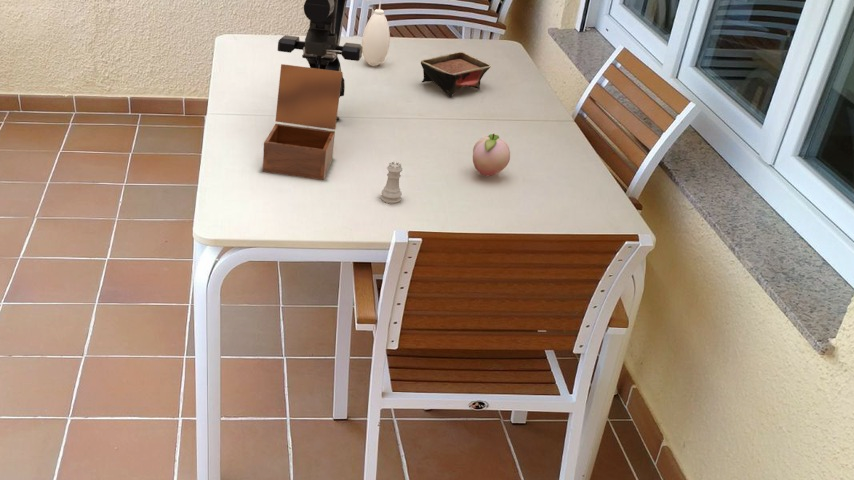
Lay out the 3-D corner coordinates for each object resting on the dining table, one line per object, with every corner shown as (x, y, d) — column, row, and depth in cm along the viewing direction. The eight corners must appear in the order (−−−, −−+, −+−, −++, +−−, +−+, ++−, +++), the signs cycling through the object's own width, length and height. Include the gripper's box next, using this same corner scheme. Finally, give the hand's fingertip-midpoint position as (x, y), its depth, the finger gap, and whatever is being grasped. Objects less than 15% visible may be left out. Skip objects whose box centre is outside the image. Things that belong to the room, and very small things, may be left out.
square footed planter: (489, 99, 265) (498, 61, 260) (442, 99, 255) (450, 60, 250) (453, 86, 275) (460, 50, 270) (406, 86, 265) (414, 48, 260)
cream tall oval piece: (360, 59, 280) (367, -5, 270) (387, 62, 280) (395, -2, 269) (358, 67, 274) (365, 2, 264) (386, 70, 273) (393, 5, 263)
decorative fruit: (505, 187, 213) (514, 144, 207) (468, 182, 214) (476, 139, 208) (505, 170, 220) (514, 128, 215) (469, 165, 221) (476, 123, 216)
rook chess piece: (378, 194, 206) (382, 159, 201) (399, 195, 206) (403, 160, 202) (382, 204, 202) (386, 168, 198) (403, 204, 203) (407, 168, 198)
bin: (323, 180, 210) (326, 150, 206) (262, 171, 212) (264, 142, 208) (332, 159, 220) (334, 131, 216) (274, 151, 222) (275, 123, 218)
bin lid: (341, 71, 211) (342, 71, 212) (281, 64, 213) (281, 64, 213) (334, 129, 215) (335, 129, 216) (275, 121, 217) (275, 121, 218)
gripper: (275, 16, 210) (270, 88, 218) (359, 26, 208) (351, 99, 215) (285, 9, 220) (280, 78, 227) (366, 18, 218) (358, 88, 225)
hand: (316, 86), depth 224 cm, fingers closed
